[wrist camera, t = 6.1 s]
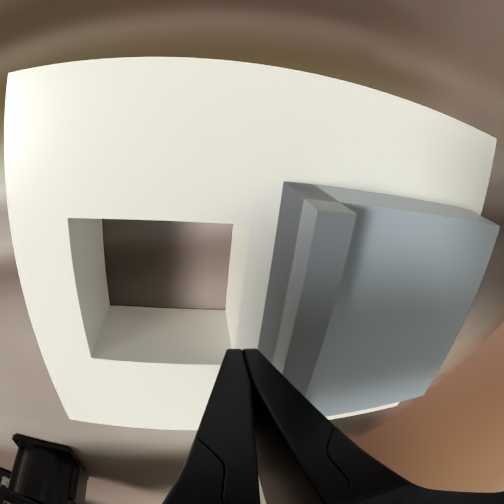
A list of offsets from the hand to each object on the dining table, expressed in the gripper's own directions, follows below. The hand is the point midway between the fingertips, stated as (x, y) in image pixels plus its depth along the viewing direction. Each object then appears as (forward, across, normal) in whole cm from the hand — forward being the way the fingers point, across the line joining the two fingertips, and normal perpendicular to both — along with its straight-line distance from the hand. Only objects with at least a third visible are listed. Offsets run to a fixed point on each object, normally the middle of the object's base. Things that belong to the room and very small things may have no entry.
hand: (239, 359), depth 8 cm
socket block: (+7, -1, 0) cm, 7 cm away
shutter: (+3, -5, 0) cm, 6 cm away
